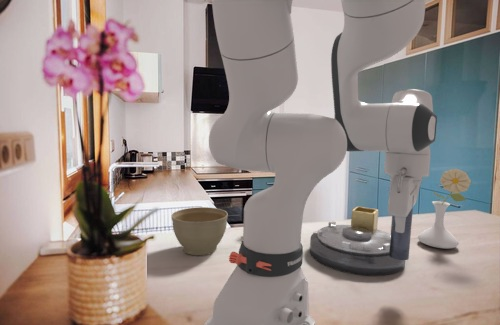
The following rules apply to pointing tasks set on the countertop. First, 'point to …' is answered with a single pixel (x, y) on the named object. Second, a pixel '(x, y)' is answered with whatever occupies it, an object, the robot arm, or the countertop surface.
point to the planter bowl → (199, 229)
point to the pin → (401, 239)
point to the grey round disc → (357, 235)
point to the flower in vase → (437, 233)
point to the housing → (353, 260)
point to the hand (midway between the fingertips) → (401, 229)
